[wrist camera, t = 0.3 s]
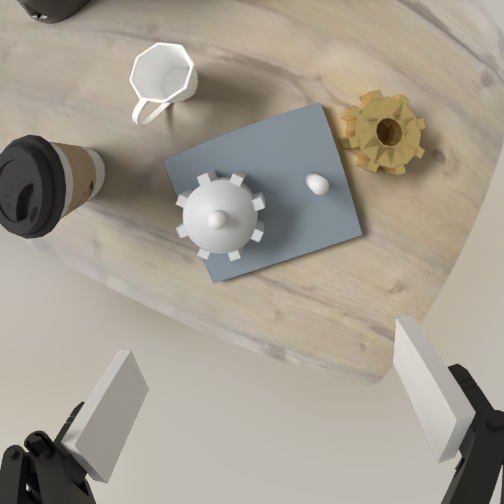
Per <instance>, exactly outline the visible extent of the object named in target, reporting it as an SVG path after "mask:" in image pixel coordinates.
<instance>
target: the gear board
mask: <svg viewBox="0 0 504 504" xmlns="http://www.w3.org/2000/svg"><path fill="white" fill-rule="evenodd" d="M162 161H163V164H164V166H165V169H166V171H167V174H168V177H169V179H170V182H171V184H172V187H173V189H174V191H175V194H176V196H177V199H178V200H177V202H176V205H178V206H180V207H181V209H182V211H183V223H181V224H180V225H179V226H178V227H177V228H176V230H177V232H178V234H179V237H180V238H183V237H185V236H189V237H190V239H191V240H192V241H193V242H194V243H195V244H196V245H197V247H198V249H199V252H198V254H197V256H199V257H202V258H203V261H204V263H205V265H206V267H207V270H208V272H209V274H210V277H211V279H212V281H213V283H216V282H220V281H223V280H226V279H229V278H232V277H235V276H239V275H242V274H245V273H248V272H251V271H254V270H257V269H260V268H264V267H267V266H270V265H273V264H276V263H279V262H282V261H285V260H288V259H291V258H294V257H297V256H301V255H304V254H307V253H310V252H313V251H316V250H319V249H322V248H325V247H328V246H331V245H334V244H337V243H340V242H343V241H346V240H349V239H352V238H355V237H358V236H361V235H362V233H361V229H360V225H359V221H358V217H357V214H356V210H355V207H354V203H353V199H352V196H351V193H350V189H349V186H348V182H347V179H346V176H345V173H344V169H343V166H342V163H341V160H340V157H339V154H338V151H337V148H336V145H335V142H334V139H333V136H332V133H331V130H330V127H329V125H328V122H327V119H326V116H325V114H324V111H323V108H322V106H321V103H320V102H319V103H315V104H312V105H309V106H305V107H302V108H299V109H295V110H292V111H289V112H286V113H283V114H280V115H277V116H274V117H271V118H268V119H265V120H262V121H259V122H256V123H253V124H251V125H248V126H245V127H242V128H240V129H237V130H234V131H232V132H229V133H226V134H224V135H221V136H219V137H216V138H213V139H211V140H208V141H206V142H204V143H201V144H199V145H196V146H194V147H192V148H189V149H187V150H184V151H182V152H180V153H178V154H175V155H173V156H171V157H169V158H166V159H164V160H162Z"/></svg>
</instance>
